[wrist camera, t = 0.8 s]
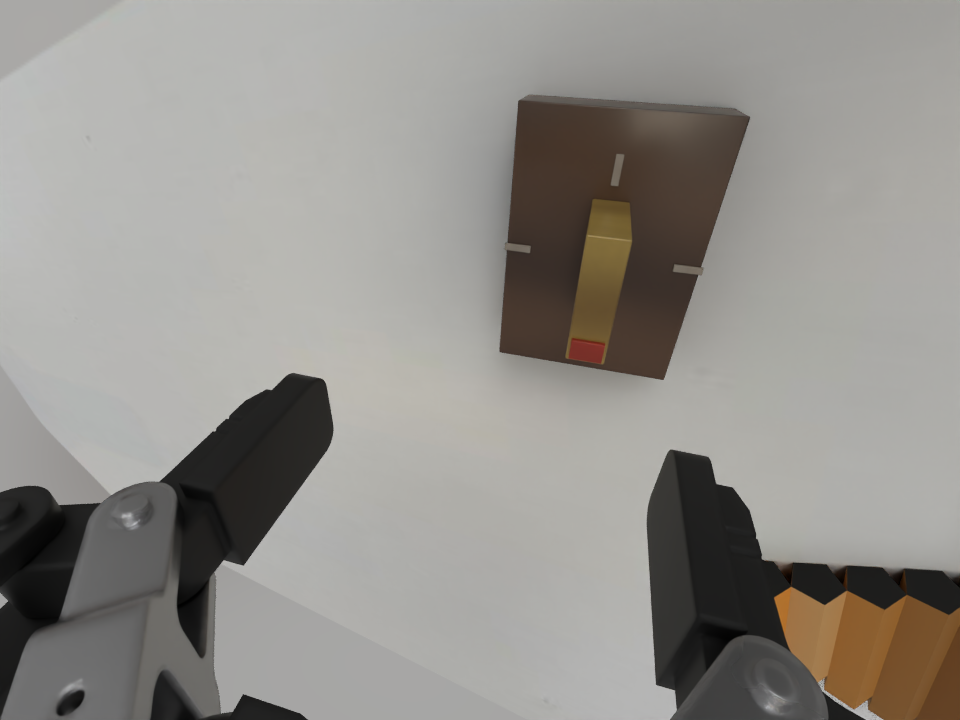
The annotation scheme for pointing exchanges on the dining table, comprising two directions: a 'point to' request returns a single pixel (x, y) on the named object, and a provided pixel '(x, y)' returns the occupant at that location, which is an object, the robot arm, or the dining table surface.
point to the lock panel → (654, 219)
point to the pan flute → (876, 637)
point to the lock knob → (600, 280)
